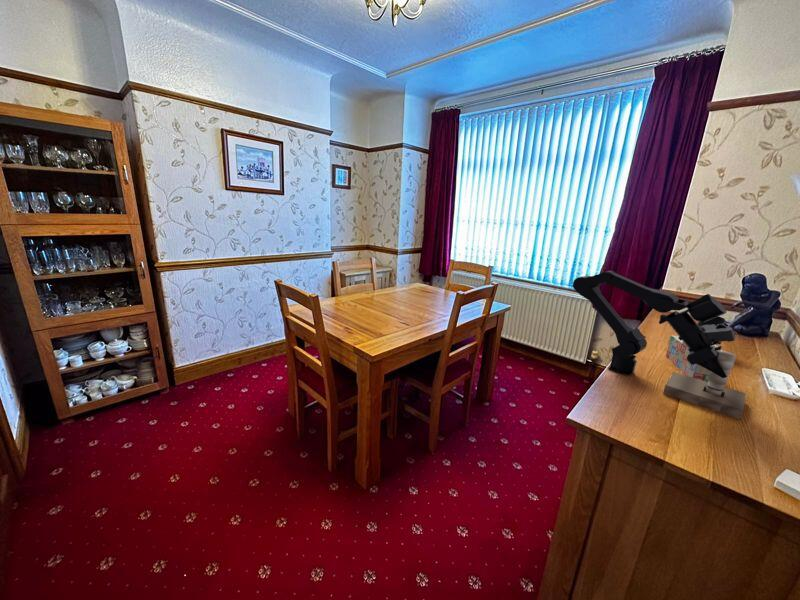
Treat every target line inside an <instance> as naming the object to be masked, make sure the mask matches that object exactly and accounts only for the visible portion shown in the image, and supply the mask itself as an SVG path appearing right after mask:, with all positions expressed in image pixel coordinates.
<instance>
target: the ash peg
mask: <svg viewBox="0 0 800 600" xmlns="http://www.w3.org/2000/svg"><path fill="white" fill-rule="evenodd" d="M716 353H719V356H718V361H719V363H720V365H721V366H722V368H723V370H724V372H725V373H726V375H727V377H726V378H722V377H720V376H718V375H716V374H715V373H713V372H711V371H710V374H709V377H708V380H709V381H708V384H707V387H706V390H705V392H707V393H711V394H714V395H717V396H721V393H722V391H723V387H725V385H726V384H727V382H728V379H729V376H730V372H731V370H732V369H733V367H734V365H735V362H736V359H737V354H734V353H733V352H730V351H725V350H724V351H720V350H716Z"/></svg>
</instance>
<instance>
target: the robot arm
mask: <svg viewBox="0 0 800 600" xmlns="http://www.w3.org/2000/svg"><path fill="white" fill-rule="evenodd" d="M603 284H608V285H610V286H613V287H614V288H617V289H619V290H621V291H624V292H625V293H628V294H630V295H632V296H634V297H636V298H638V299H640V300H642V301H643V303H644V304H646V305H647V306H649V307H650V308H651V309H652V310H655V311H656V312H659V313H662V314H661V315H660V316H659V321H658V324H659V325H661V324H663V323H668V324H669V326H670V327H671V328H672V329H673V330H674V332H675V333H676V334H677V336H679V337H678V338H679V339H680V341H681V340H683V341H684V343H685V344H686V345H687V346H688V348H689V349H688V350H689V352H690V353H689V354H688V356H687V360H688V362H689V363H690V364H691V365H693V364H698V365H700V366H702V367H704V368H706V369H708V370H709V371H711V372H713V373H715V374H716V375H718V376H720V377H722V378H726V377H727V375H726V373H725V372H724V370H723V368H722V366H721V365H720V363H719V361H718V356H719V353H716V350H720V351H721V349H722V348H723V347H722V343H723V342H727V343H729V342H734V341H735V339H736V336H735V333H734V330H733V327H731V326H729V327H728V326H727V325H725V323H723V324H717V326H716V329H711V330H706V329H705V328H704V327H702V326H699V325H698V321H702V322H706V321H708V320H711V319H713V318H716V317H721V316H723V315H725V314H727V310H726V308H725V307H724V305H723V304H722V303H721V302H720V301H719V300H717V299H716V298H715V297H713V296H711V294H710V293H706V294H705V295H702V296H701V297H699V298H698V299H696V300H693V301H689V300H685V299H683V298H680V297H678V295H676V294H675V293H673V292H668V291H665V290H661V289H657V288H651V287H649V286H645V285H643V284H641V283H640V282H639V283H638V282H637V281H634V280H632V279H630V278H628V277H625V276H623V275H621V274H619V273H616V272H615V271H613V270H608V271H603V272H602V273H598V274H594V275H585V276H578V277H576V278H575V279H574V280H573V282H572V288H573V290H574V291H575V292H576V293H578V295H580V296H581V297H583V298H584V299H586V300H588V301H589V303H590V304H591V305H592V307H594V308H595V310H596V311H597V312H598V314H599V315H600V316H601V317H602V318H603V320H604V321H605V322H606V324H607V325H608V326H609V327H610V329H611V330H612V331H613V333H614V334H615V338H616V341H617V343H618V345H616V346H614V347H613V348H612V347H611V353H612V356H611V360H610V366H608V368H607V369H608V370H611V371H613V372H616V373H618V374H622V375H626V376H627V377H629V376H630V375H632V374H634V373H635V370H636V367H637V363H638V361H637V360H636V358H637V354H638V353H640V352H642V351H644V350H645V349H646V348H647V344H648V343H647V340H646V338H647V336H646V335H644V334H642V332H641V330H640V328H639V327H636V328H634V329H633V328H632V327H630V326H629V325H628V324H627V323H626V322H625V321H624V319H623V318H622V317H621V316H620V315H619V314H618V312H617V311H616V310H615V309H614V308H613V306H612V305H611V304H610V303H609V302H608V300H607V299H606V298H605V296H604V295H603V294H602V292H601V291H602V290H601V289H600V286H601V285H603ZM599 285H600V286H599ZM684 309H685V310H684ZM682 310H683V311H682ZM671 311H673V312H671ZM669 312H670V313H669ZM665 313H667V314H665ZM715 344H717V345H719V346H718V347H715V346H713V345H715Z"/></svg>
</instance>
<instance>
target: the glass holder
mask: <svg viewBox="0 0 800 600" xmlns="http://www.w3.org/2000/svg"><path fill="white" fill-rule="evenodd" d="M725 320H726V318H724V317H722V316H718V317H716V318H713V319H711V320H708V321H706V322H702V321H697V324H698V325H699V326H702V327H704V328H705V329H706V330H711V329H716V326H717V324H725V323H724V322H725ZM715 345H717V346H718V344H715Z"/></svg>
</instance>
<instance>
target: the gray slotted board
mask: <svg viewBox="0 0 800 600" xmlns="http://www.w3.org/2000/svg"><path fill="white" fill-rule="evenodd" d="M707 384H708V382H706V381H703V380H699V379H696V378H693V377H689V376H687V375H685V374H682V373H679V372H675V371H673V373H672V374H671V375H670V377H669V379H668V381H666V383H665V385H664V389H663V392H662V395H663V394H664V395H666V396H670V397H672V398H675V399H679V400H680V401H681V400H682V401H684V402H686V403H687V402H688V403H690V404H693V405H696V406H699V407H702V408H704V409H708V410H711V411H714V412H715V413H718V414H719V413H720V414H723V415H726V416H728V415H729V417H732V418H733V419H737V420H741V417H742V415H743V413H744V410H745V401H746V394H747V393H746V392H743V391H739V390H737V389H733V388H731V387H730V388H729V387H726V386H724V387H723V391H722V393H721V396H717V395H714V394H711V393H707V392H705V390H706V387H707Z"/></svg>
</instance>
